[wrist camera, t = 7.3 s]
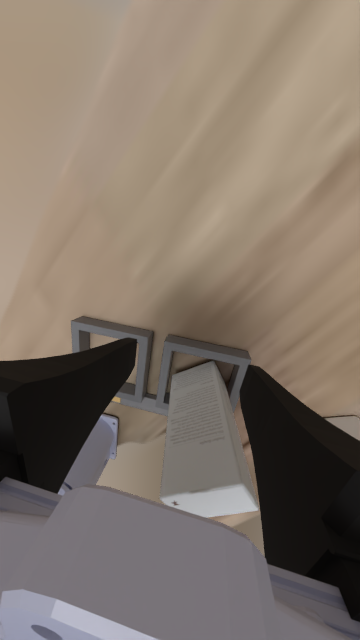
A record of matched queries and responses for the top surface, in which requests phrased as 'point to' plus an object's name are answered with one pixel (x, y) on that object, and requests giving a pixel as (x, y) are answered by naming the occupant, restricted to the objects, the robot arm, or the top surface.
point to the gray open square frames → (137, 393)
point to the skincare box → (204, 448)
